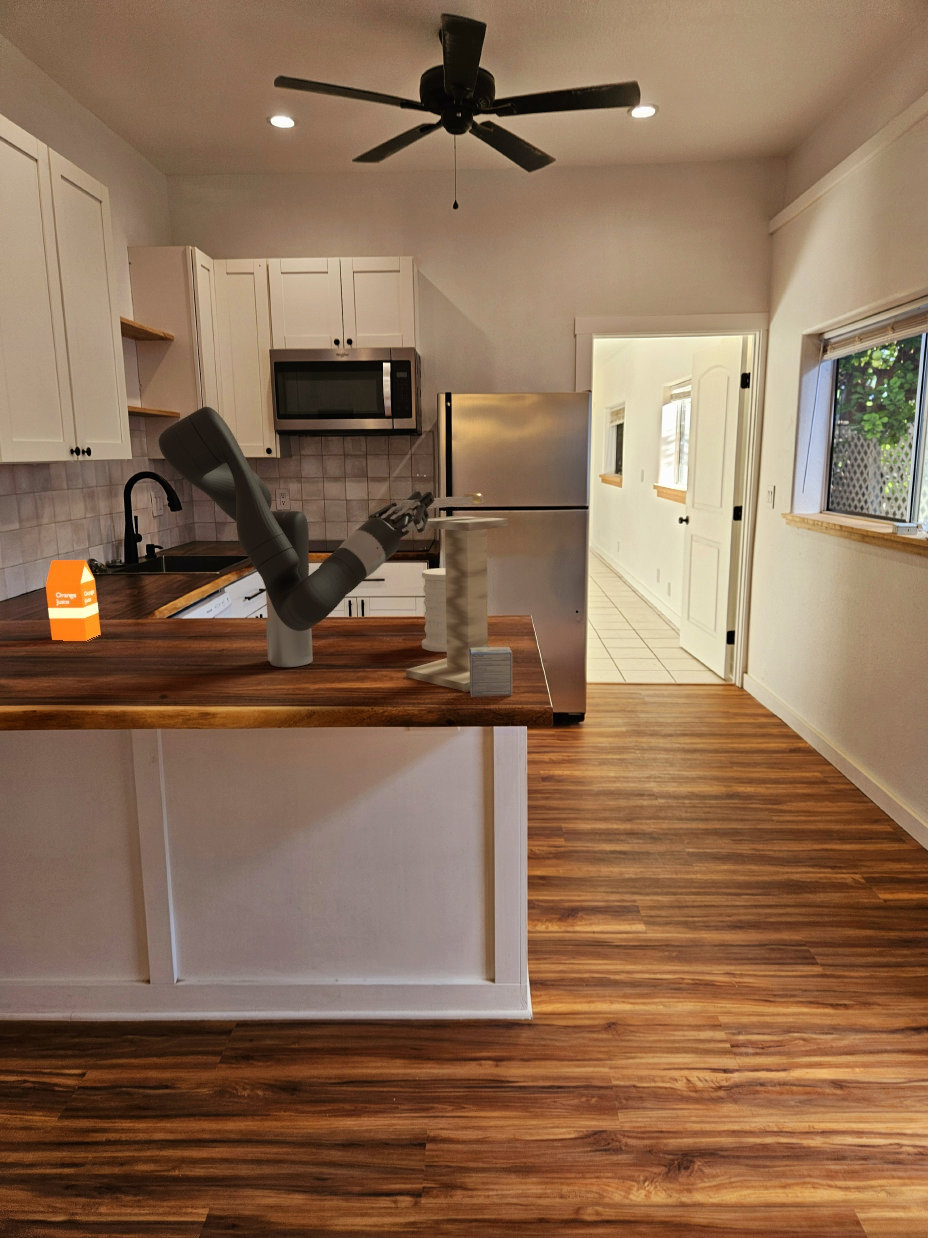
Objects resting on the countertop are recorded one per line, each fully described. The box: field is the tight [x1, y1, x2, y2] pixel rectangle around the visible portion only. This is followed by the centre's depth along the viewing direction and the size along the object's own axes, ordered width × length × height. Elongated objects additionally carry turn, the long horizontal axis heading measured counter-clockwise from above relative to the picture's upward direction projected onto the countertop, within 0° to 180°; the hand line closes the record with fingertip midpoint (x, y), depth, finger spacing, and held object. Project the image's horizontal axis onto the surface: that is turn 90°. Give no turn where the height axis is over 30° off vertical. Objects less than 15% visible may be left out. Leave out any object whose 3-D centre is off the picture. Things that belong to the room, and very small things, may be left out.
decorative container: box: [421, 567, 447, 653], centre depth 189 cm, size 12×12×18 cm
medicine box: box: [469, 646, 513, 698], centre depth 152 cm, size 8×4×9 cm, turn 94°
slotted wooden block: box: [399, 493, 485, 510], centre depth 155 cm, size 4×21×2 cm, turn 138°
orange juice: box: [45, 559, 101, 642], centre depth 202 cm, size 8×9×20 cm
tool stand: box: [405, 515, 510, 692], centre depth 162 cm, size 16×15×32 cm
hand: (425, 495), depth 151 cm, fingers closed on slotted wooden block, 2 cm apart
